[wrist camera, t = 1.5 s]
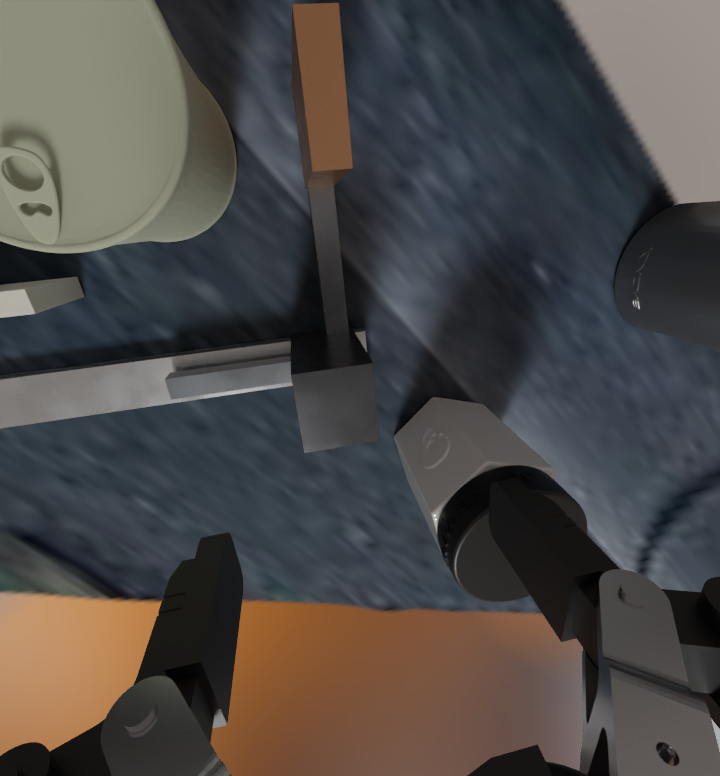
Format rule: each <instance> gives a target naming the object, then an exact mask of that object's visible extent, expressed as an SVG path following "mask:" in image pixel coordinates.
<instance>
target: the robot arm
mask: <svg viewBox="0 0 720 776" xmlns="http://www.w3.org/2000/svg"><path fill="white" fill-rule="evenodd" d="M614 291H615V300H616V303H617V306H618V309H619V311H620V313H621V314H622V315H623V317H624V318H625V319H626V320H627V321H628V322H630V323H631V324H632V325H635V326H637V327H640V328H643V329H646V330H650V331H653V332H657V333H660V334H664V335H667V336H670V337H674V338H677V339H681V340H683V341H687V342H690V343H694V344H697V345H700V346H704V347H707V348H711V349H714V350H718V351H720V201H717V202H701V203H686V204H678V205H675V206H673V207H670V208H667V209H665V210H663V211H662V212H660V213H658V214H656V215H655V216H654V217H652V218H651V219H650V220H649V221H648V222H646V223H645V224H644V225H643V226H642V227H641V228H640V230H639V231H638V232H637V233H636V234H635V235H634V236H633V238H632V239H631V241H630V243H629V244H628V246H627V247H626V249H625V251H624V253H623V255H622V257H621V260H620V262H619V265H618V269H617V272H616V276H615V287H614ZM489 527H490V531H491V534H492V537H493V539H494V540H495V542H496V544H497V545H498V547H499V548H500V550H501V551H502V553H503V554H504V556H505V557H506V559H507V560H508V562H509V563H510V565H511V566H512V568H513V569H514V571H515V572H516V574H517V575H518V577H519V578H520V580H521V582H522V583H523V585H524V586H525V588H526V589H527V591H528V592H529V594H530V595H531V597H532V598H533V600H534V601H535V603H536V604H537V606H538V607H539V609H540V610H541V612H542V613H543V615H544V616H545V618H546V619H547V621H548V622H549V624H550V625H551V627H552V628H553V630H554V631H555V633H556V635H557V636H558V637H559V639H560V640H561V642H563V641H567V640H571V639H575V638H577V639H578V641H579V642H580V644H581V645H582V646H583V652H582V698H583V699H582V702H583V704H582V706H583V735H582V746H581V755H580V770H579V771H578V770H575V769H572V768H570V767H567V766H564V765H560V764H556V763H550V762H546V761H545V759H544V757H543V755H542V753H541V751H540V749H539V747H538V745H535V746H531V747H528V748H524V749H521V750H517V751H514V752H510V753H507V754H503V755H500V756H496V757H493V758H490V759H489V760H488V761H486V762H485V763H484V764H483V765H481V766H480V767H478V768H477V769H476V770H474V771H473V772H472V773H471V774H469V775H468V776H720V752H719V748H718V744H717V741H716V736H715V733H714V729H713V725H712V721H711V718H712V719H713V721H714V722H715V723H716V725H717V726H718V727H719V728H720V577H714V578H710V579H709V580H707V581H706V582H705V584H704V586H703V589H702V591H701V592H688V591H676V590H665V589H660V587H658V586H657V585H656V584H655V583H654V582H652V581H651V580H649V579H648V578H646V577H644V576H642V575H640V574H637V573H635V572H632V571H628V570H621V569H620V568H619V567H618V566H617V565H616V564H615V563H614V562H613V561H612V560H611V559H610V558H609V557H608V556H607V555H606V554H605V553H604V552H603V551H602V550H601V549H600V548H599V547H598V546H597V545H596V544H595V543H594V542H593V541H592V540H591V539H590V538H589V537H588V536H587V535H586V534H585V532H584V531H583V530H582V529H581V528H580V527H577V524H576V523H575V522H574V521H573V520H572V519H571V518H570V517H567V514H566V513H565V512H564V511H563V510H562V509H561V508H560V507H559V506H558V505H557V504H556V503H555V502H554V501H553V500H551V499H549V498H548V497H546V496H544V495H542V494H541V493H539V492H533V493H531V492H530V491H529V490H528V489H527V487H526V486H525V485H524V484H523V483H522V482H521V481H520V480H519V479H516V478H514V479H509V480H504V481H499V482H494V483H492V485H491V489H490V505H489ZM242 596H243V577H242V571H241V567H240V564H239V560H238V557H237V554H236V550H235V547H234V544H233V540H232V537H231V535H230V533H224V534H218V535H213V536H208V537H203V538H201V540H200V542H199V545H198V549H197V553H196V556H195V559H190V560H185V561H182V563H181V564H180V565H179V567H178V568H177V569H176V571H175V572H174V573H173V575H172V576H171V577H170V579H169V582H168V585H167V588H166V591H165V594H164V600H162V603H161V606H160V609H159V616H157V618H156V621H155V624H154V627H153V630H152V634H151V636H150V640H149V642H148V645H147V648H146V651H145V655H144V658H143V661H142V664H141V667H140V670H139V673H138V676H137V678H136V681H135V683H134V685H133V686H132V687H131V688H129V689H128V690H127V691H126V692H125V693H124V694H122V696H121V697H120V698H119V699H118V700H117V701H116V702H115V704H114V705H113V707H112V708H111V709H110V711H109V713H108V714H107V717H106V719H104V720H103V721H102V722H101V723H99V724H98V725H96V726H94V727H93V728H91V729H89V730H87V731H86V732H84V733H82V734H80V735H79V736H77V737H75V738H73V739H71V740H70V741H68V742H66V743H64V744H63V745H61V746H59V747H57V748H55V749H54V750H52V751H50V752H49V750H48V749H47V748H46V747H45V746H44V745H42V744H40V743H35V742H34V743H26V744H22V745H20V746H17V747H15V748H13V749H11V750H9V751H7V752H6V753H4V754H3V755H1V756H0V776H231V774H230V772H229V771H228V769H227V768H226V766H225V765H224V763H223V762H221V760H220V759H219V758H218V756H217V754H216V752H215V751H214V749H213V747H212V746H211V744H210V741H211V733H212V729H213V728H217V727H221V726H225V725H227V722H228V714H229V705H230V697H231V689H232V680H233V671H234V663H235V654H236V647H237V638H238V630H239V621H240V613H241V605H242Z"/></svg>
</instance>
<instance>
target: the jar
mask: <svg viewBox="0 0 720 776" xmlns="http://www.w3.org/2000/svg"><path fill="white" fill-rule="evenodd" d="M394 440H395V443H396V446H397V449H398V452H399V455H400V459H401V462H402V465H403V468H404V471H405V474H406V478H407V480H408V482H409V484H410V486H411V489H412V491H413V493H414V495H415V497H416V499H417V502H418V504H419V506H420V508H421V510H422V512H423V515H424V517H425V519H426V521H427V523H428V525H429V528H430V530H431V532H432V534H433V536H434V538H435V541H436V543H437V545H438V547H439V549H440V551H441V554H442V556H443V558H444V560H445V562H446V565H447V567H449V568H450V570H451V572H452V574H453V577H454V579H455V581H456V582H457V584H458V585H459V586H460V587H461V589H462V590H464V591H465V592H466V593H468V594H469V595H471V596H473V597H475V598H477V599H480V600H484V601H491V602H505V601H512V600H517V599H521V598H524V597H527V596H530V594H529V592H528V591H527V589H526V588H525V586H524V585H523V583H522V582H521V580H520V578H519V577H518V575H517V574H516V572H515V571H514V569H513V568H512V566H511V565H510V563H509V562H508V560H507V559H506V557H505V556H504V554H503V553H502V551H501V550H500V548H499V547H498V545H497V544H496V542H495V540H494V539H493V537H492V534H491V531H490V527H489V505H490V489H491V485H492V483H494V482H499V481H504V480H509V479H514V478H516V479H519V480H520V481H521V482H522V483H523V484H524V485H525V486H526V487H527V489H528V490H529V491H530V492H531V493H533V492H539V493H541V494H542V495H544V496H546V497H548V498H549V499H551V500H553V501H554V502H555V503H556V504H557V505H558V506H559V507H560V508H561V509H562V510H563V511H564V512H565V513H566V514H567V517H570V518H571V519H572V520H573V521H574V522H575V523H576V524H577V527H580V528H581V529H582V530H583V531H584V532H585V534H586V535H587V520H586V516H585V513H584V511H583V509H582V508H581V506H580V505H579V504H578V503H577V502H576V501H575V500H574V499H573V498H572V497H571V496H570V495H569V494H568V493H567V492H566V491H565V490H564V489H563V488H562V487H561V486H560V485H559V484H558V483H557V482H556V481H555V480H554V471H553V468H552V467H551V466H550V465H549V464H547V463H546V462H545V461H544V460H543V459H542V458H541V457H540V456H539V455H538V454H537V453H536V452H534V451H533V450H532V449H531V448H530V447H529V446H528V445H527V444H526V443H525V442H524V441H523V440H522V439H520V438H519V437H518V436H517V435H516V434H515V433H514V432H513V431H512V430H511V429H510V428H509V427H507V426H506V425H505V424H504V423H503V422H502V421H501V420H500V419H499V418H498V417H497V416H496V415H494V414H493V413H492V412H491V411H490V410H489V409H488V408H487V407H486V406H485V405H483V404H480V403H473V402H466V401H459V400H453V399H446V398H439V397H432V398H431V399H430V400H429V401H428V402H427V403H426V404H425V405H424V406H423V407H422V408H421V409H420V410H419V411H418V412H417V413H416V414H415V415H414V416H413V417H412V418H411V419H410V420H409V421H408V422H407V423H406V424H405V425H404V426H403V427H402V428H401V429H400V430H399V431H398V432H397V433H396V434H395V436H394Z"/></svg>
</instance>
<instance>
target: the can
mask: <svg viewBox="0 0 720 776" xmlns="http://www.w3.org/2000/svg"><path fill="white" fill-rule="evenodd" d="M236 175H237V157H236V149H235V144H234V140H233V136H232V133H231V130H230V127H229V125H228V122H227V120H226V118H225V116H224V114H223V112H222V110H221V108H220V106H219V105H218V103H217V102H216V100H215V99H214V97H213V96H212V94H211V93H210V92H209V90H208V89H207V88H206V87H205V86H204V85H203V84H202V83H201V81H200V80H199V79H198V78H197V76H196V75H195V73H194V71H193V70H192V68H191V67H190V65H189V63H188V62H187V60H186V59H185V57H184V55H183V54H182V52H181V50H180V49H179V47H178V45H177V43H176V42H175V40H174V38H173V37H172V35H171V33H170V30H169V28H168V26H167V24H166V22H165V20H164V18H163V16H162V14H161V12H160V10H159V8H158V6H157V4H156V2H155V0H0V241H2V242H4V243H7V244H11V245H14V246H17V247H21V248H25V249H30V250H36V251H41V252H50V253H82V252H89V251H95V250H100V249H103V248H107V247H110V246H113V245H119V244H127V243H135V242H144V241H156V242H176V241H182V240H186V239H189V238H192V237H194V236H197V235H199V234H201V233H202V232H204V231H206V230H207V229H208V228H210V227H211V226H212V225H213V224H214V223H215V222H216V221H217V220H218V219H219V218H220V217H221V215H222V214H223V213H224V211H225V210H226V208H227V206H228V204H229V202H230V200H231V197H232V194H233V191H234V187H235V183H236Z"/></svg>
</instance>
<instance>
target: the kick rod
mask: <svg viewBox="0 0 720 776" xmlns="http://www.w3.org/2000/svg"><path fill="white" fill-rule="evenodd" d="M292 91H293V99H294V106H295V114H296V122H297V129H298V137H299V145H300V152H301V160H302V168H303V175H304V183H305V189H307V190H308V197H309V205H310V213H311V221H312V229H313V236H314V244H315V252H316V260H317V267H318V275H319V283H320V291H321V298H322V306H323V314H324V322H325V329H326V330H319V331H311V332H303V333H296V334H291V356H286V357H279V358H272V359H264V360H257V361H250V362H243V363H235V364H228V365H221V366H214V367H206V368H199V369H192V370H184V371H177V372H170V373H169V375H168V376H167V377H166V378H165V382H166V385H167V388H168V391H169V394H170V398H171V400H172V399H179V398H186V397H192V396H199V395H206V394H213V393H220V392H227V391H234V390H241V389H247V388H254V387H261V386H268V385H275V384H282V383H289V382H292V385H293V390H294V396H295V402H296V407H297V413H298V419H299V424H300V430H301V436H302V442H303V447H304V453H308V452H314V451H320V450H326V449H332V448H338V447H344V446H349V445H355V444H361V443H367V442H373V441H379V428H378V415H377V403H376V390H375V378H374V365H373V362H372V360H371V358H370V357H369V355H368V353H367V352H366V350H365V349H364V347H363V345H362V344H361V342H360V340H359V339H358V337H357V335H356V334H355V332H354V330H353V329H352V327H351V326H349V327H348V318H347V308H346V299H345V289H344V279H343V270H342V260H341V250H340V241H339V231H338V221H337V212H336V202H335V193H334V185H335V184H336V183H337V182H338V181H340V180H341V179H342V178H343V177H344V176H345V175H346V174H347V173H348V172H349V171H350V170H352V169H353V165H352V153H351V141H350V129H349V118H348V106H347V94H346V82H345V70H344V58H343V47H342V35H341V23H340V11H339V3H317V4H292Z"/></svg>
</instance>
